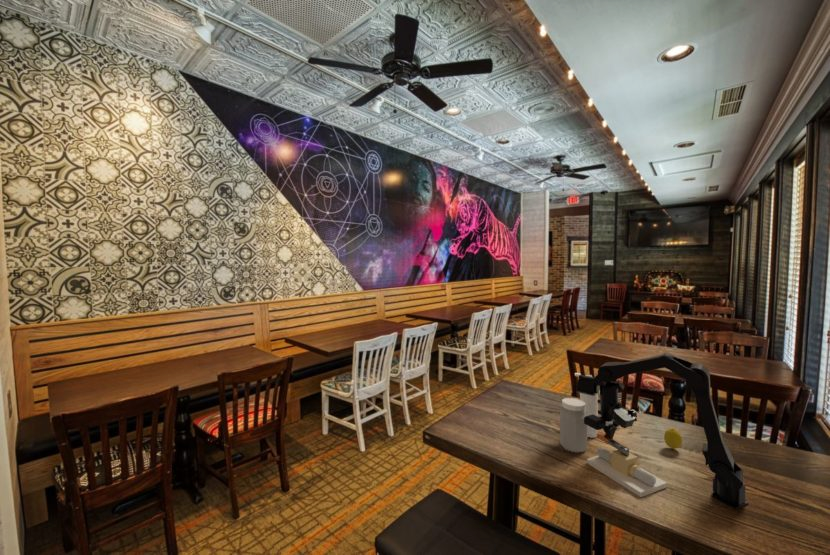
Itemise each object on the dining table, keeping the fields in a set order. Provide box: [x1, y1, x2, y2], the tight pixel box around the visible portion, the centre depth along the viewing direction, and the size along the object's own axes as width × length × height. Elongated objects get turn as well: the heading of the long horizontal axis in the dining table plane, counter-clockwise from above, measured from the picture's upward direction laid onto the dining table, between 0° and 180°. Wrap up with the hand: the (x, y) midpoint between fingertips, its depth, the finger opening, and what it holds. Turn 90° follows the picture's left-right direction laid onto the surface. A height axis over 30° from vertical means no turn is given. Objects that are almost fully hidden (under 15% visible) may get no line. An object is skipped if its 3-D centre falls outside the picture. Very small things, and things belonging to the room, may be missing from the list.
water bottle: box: [574, 372, 599, 439], centre depth 147 cm, size 9×6×25 cm
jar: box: [559, 397, 588, 454], centre depth 136 cm, size 10×10×18 cm
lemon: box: [663, 427, 683, 450], centre depth 134 cm, size 6×6×8 cm
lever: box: [596, 432, 630, 456], centre depth 123 cm, size 12×3×2 cm, turn 15°
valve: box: [586, 446, 668, 498], centre depth 119 cm, size 20×12×7 cm, turn 22°
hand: (610, 440), depth 127 cm, fingers closed
